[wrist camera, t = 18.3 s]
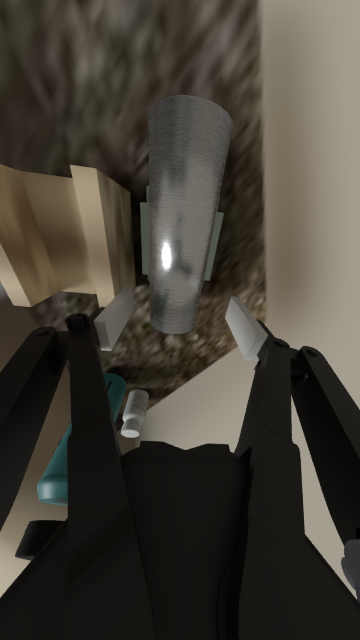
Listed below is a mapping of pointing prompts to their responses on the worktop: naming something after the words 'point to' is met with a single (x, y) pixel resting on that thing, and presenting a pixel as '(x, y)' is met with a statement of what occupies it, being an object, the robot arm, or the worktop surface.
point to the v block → (146, 242)
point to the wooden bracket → (64, 235)
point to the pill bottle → (134, 413)
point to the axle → (183, 203)
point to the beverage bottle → (61, 480)
